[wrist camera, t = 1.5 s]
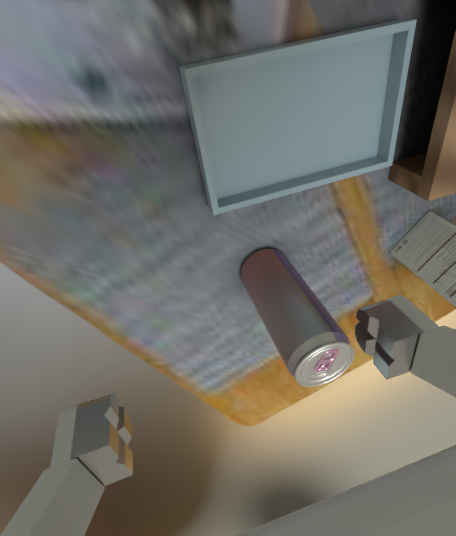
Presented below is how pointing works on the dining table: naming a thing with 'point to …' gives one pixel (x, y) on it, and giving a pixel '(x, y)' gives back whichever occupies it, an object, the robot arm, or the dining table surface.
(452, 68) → the cubby
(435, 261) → the supplement box
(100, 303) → the dining table surface
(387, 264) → the dining table surface
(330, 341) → the beverage can
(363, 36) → the grey-blue tray
